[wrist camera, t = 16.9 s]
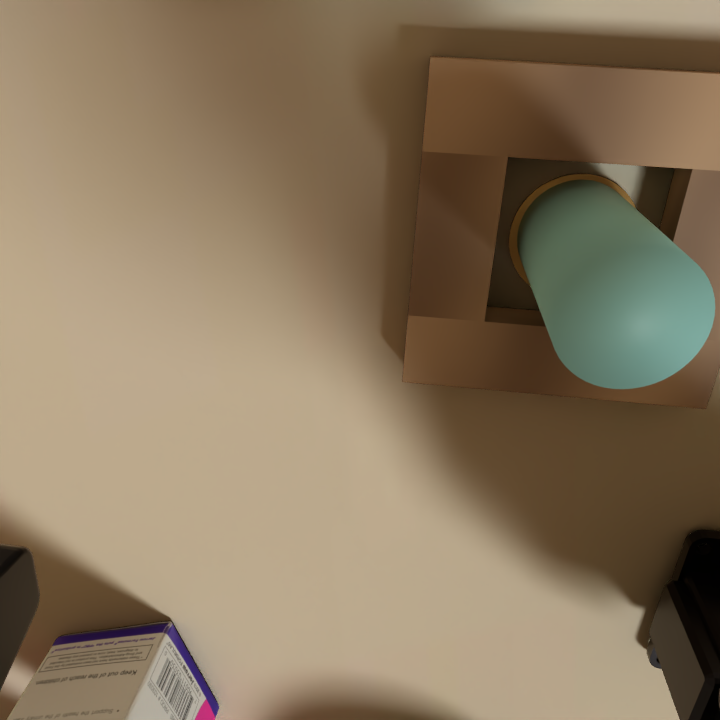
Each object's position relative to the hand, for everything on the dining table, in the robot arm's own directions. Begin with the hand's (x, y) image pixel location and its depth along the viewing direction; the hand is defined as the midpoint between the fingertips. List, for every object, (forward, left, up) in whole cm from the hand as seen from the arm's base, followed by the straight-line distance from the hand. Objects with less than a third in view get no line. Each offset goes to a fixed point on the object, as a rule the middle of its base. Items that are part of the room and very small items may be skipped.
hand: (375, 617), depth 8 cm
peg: (-5, -2, -13) cm, 14 cm away
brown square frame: (-5, -2, -13) cm, 14 cm away
